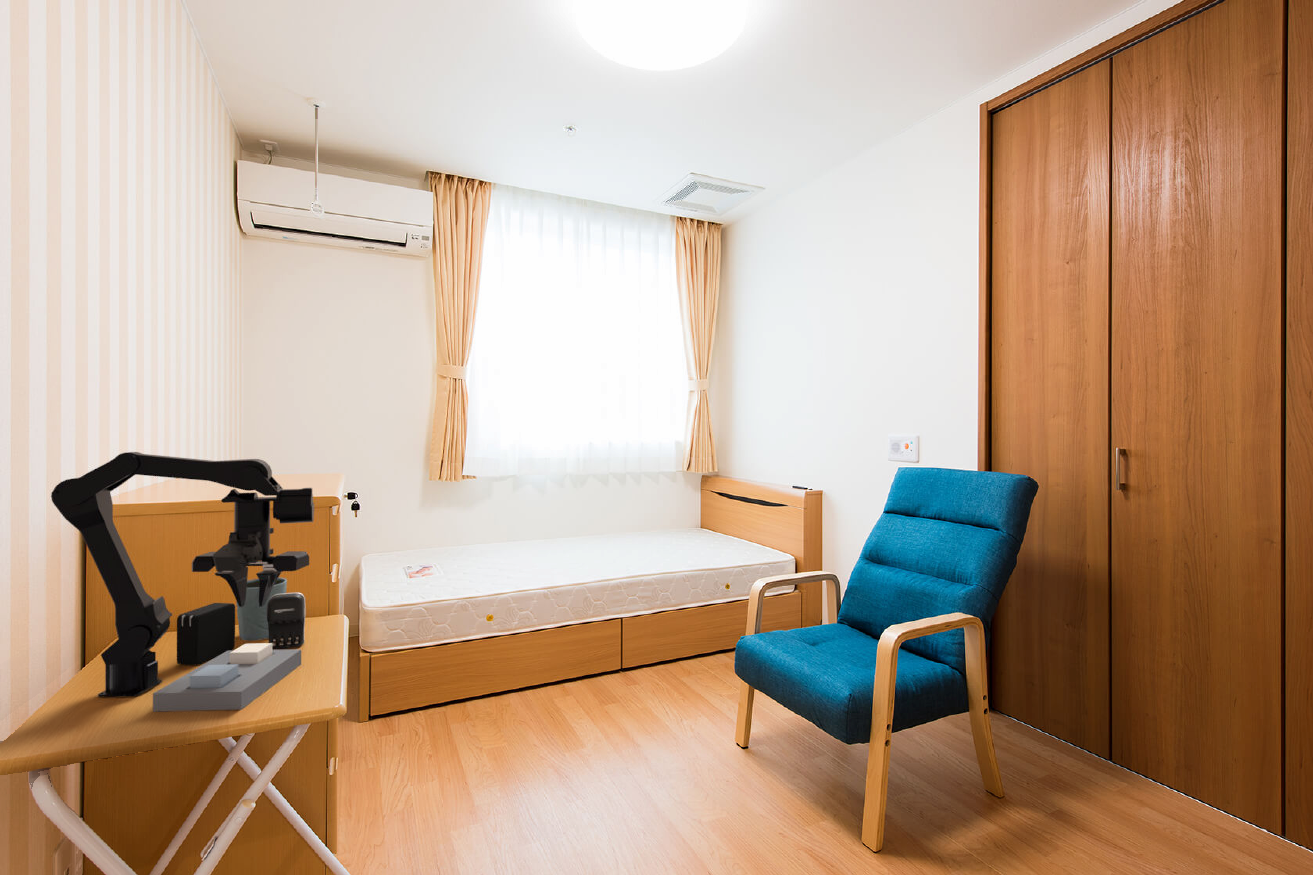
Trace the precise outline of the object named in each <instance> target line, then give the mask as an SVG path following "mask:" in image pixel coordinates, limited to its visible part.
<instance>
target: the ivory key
mask: <svg viewBox="0 0 1313 875" xmlns="http://www.w3.org/2000/svg"><path fill="white" fill-rule="evenodd" d="M233 650H234V651H232V652H230V664H259V663H261V662H262V661H264V660H265V659H267V658H268V657H270V656H271V655H272V650H273V649H272V643H269V642H268V643H267V642H266V643H265V642H264V643H262V642H261V643H258V642H257V643H256V642H255V643H244V644H242V645H241V646H239V647H238V648H236V649H235V648H234V649H233Z"/></svg>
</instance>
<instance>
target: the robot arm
mask: <svg viewBox="0 0 1313 875" xmlns="http://www.w3.org/2000/svg"><path fill="white" fill-rule="evenodd" d="M136 475H137V476H139V475H140V476H149V477H159V478H160V477H161V478H174V479H183V480H184V479H185V480H195V481H196V480H197V481H205V482H206V481H208V482H212V483H215V484H219V485H223V486H226V487H230V488H233V489H231V490H230V491H229V492H228V494H227V495H225V497H223V498H221V500H220V501H221V503H234V507H233V509H234V510H233V511H234V515H233V516H234V517H233V519H234V520H233V522H234V524H233V527H234V528H233V530H234V531H230V532H229V536H228V542H227V544H224V545H223V546H221V547H220V548H219V549H218V550H217V551H209V552H205V553H202V554H199V555H196V556H195V557H194V558H193V560H192V562H191V572H192V573H208V572H210V571H211V570H212V569H213V568H214V567H215V571H216V572H215V573H214V575H215V576H216V577H220V578H222V579H223V580H225V581H226V582H227V584H228V585H229V587H230V589H231V591H232V593H233V596H234V598H235V601H237V603H238V605H239V607H242V606H244V605H245V600H246V591H247V581H248V577H249V576H248V575H249V574H248V573H249V567H262V571H259V572H257V573H256V574H255V575H256V577H257V579H259V606H260V607H262V606H264V605H265V603H266V601H267V599H268V596H269V594H270V592H271V590H272V588H273V586H274V584H275V582H276V580H277V579H278V578H280V575H281V573H283V572H296V571H298V570H300V569H301V570H302V569H303V568H306V567H308V566H310V555H309V554H308V552H307V551H300V550H299V551H295V550H294V551H292V550H291V551H289V550H288V551H285V552H283V553H280V554H277V555H275V556H274V555H273V554H274V548H271V534H274V530H275V528H274V527H271V502H273V503H272V517H273V519H275V520H277V521H279V523H280V524H298V523H314V517H315V502H314V494H313V487H303V488H292V489H291V488H289V489H288V488H283V487H282V485H281V484H279V482H278V481H277V480H276V479H275V478H274V477H273V476H272V475H273V470H272V467H271V465H269V464H268V462H266V461H264V460H262V459H259V458H246V459H245V458H244V459H229V460H227V459H226V460H225V459H224V460H210V459H198V458H189V457H180V456H179V457H178V456H169V455H159V454H158V455H156V454H148V453H147V454H146V453H141V452H137V451H129V452H122V453H120V454H118V455H116V456H115V457H114V458H112V459H111V460H109V461H108V462H106V463H104V464H102V465H100V466H98V467H96V468H94V469H92V470H91V471H89V472H87V473H85V474H83V475H82V476H80V477H74V478H69V479H65V480H63V481H60V482H59V483H58V484H56V485H55V487H54V488H53V490H52V491H51V492H50V493H51V495H50V497H51V502H52V503H53V505H54V506H55V507H56V509H57V510H58V511H59V513H60V515H61V516H62V517H63V518H64V519H65V520H66V521H67V522H68V523H69V524H71V525H72V526H73V527H74V528H75V529H77V531H79V532H80V534H81V537H82V538H83V541H84V543H85V545H86V547H87V549H88V551H89V553H90V555H91V558H92V560H93V562H94V564H95V566H96V568H97V570H98V573H99V574H100V576H101V578H102V580H103V583H104V585H105V587H106V589H107V591H108V594H109V596H110V598H111V599H112V600H111V601H112V602H113V604H114V608H115V609H114V610H115V611H114V615H115V616H114V618H115V620H114V621H115V622H114V625H115V631H116V635H117V640H115V642H113V643H112V644H111V645H110V646H109V647H107V649H105V650H104V651H103V652H102V653H101V655H100V656H101V659H102V660H103V662H104V664H105V667H104V668H105V670H104V671H105V680H104V682H105V684H104V686H105V689H104V690H102V691H101V692H99V693H98V694H97V698H112V697H113V698H121V697H125V698H126V697H138V696H139V695H142V694H143V693H145V692H147V691H148V690H150V689H152V688H154V687H156V686H158V685H159V684H161V683H162V682H163V680H162V678H159V662H158V660H156V651H152V650H151V649H152V648H153V647H155V645H156V644H157V643H158V641H159V640H160V639H161V638H162V637H163V636H164V635H165V634H166V633H167V632H168V630H169V629H170V626H171V621H170V620H171V619H170V618H171V617H172V616H173V613H172V612H171V611H169V609H168V607H167V605H166V600H165V597H164V596H159V597H158V598H156V599H154V598H153V597H151V595H149V593H147V591H146V590H145V589H144V586H143V584H142V581H141V580H140V577H139V575H138V573H137V571H136V569H135V567H134V564H133V562H132V560H131V558H130V556H129V553H128V551H127V549H126V547H125V545H124V543H123V541H122V539H121V536H120V534H119V531H118V530H117V528H116V525H115V522H114V519H113V518H114V517H113V516H114V514H113V513H114V511H113V506H114V505H113V499H112V494H111V492H113V491H114V490H116V489H117V488H119V487H120V486H122V485H123V484H125V483H126V482H128V480H130V479H131V478H133V477H134V476H136ZM237 489H238V490H243V491H248V492H240V491H238V490H237ZM249 491H251V492H249ZM252 491H256V492H252ZM257 492H258V493H259V494H261V495H263V496H259V495H258V493H257Z"/></svg>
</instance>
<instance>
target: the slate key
mask: <svg viewBox="0 0 1313 875" xmlns="http://www.w3.org/2000/svg"><path fill="white" fill-rule="evenodd" d="M238 677H239V664H231V665H208V666H206V667H205V668H203V669H201V670H199V671H198V672H196V673H194V674H193V675H191V676H190V689H204V688H223V687H224V686H226V685H227V684H229V683H230V682H232V681H233V680H235V679H236V678H238Z"/></svg>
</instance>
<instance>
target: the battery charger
mask: <svg viewBox="0 0 1313 875" xmlns="http://www.w3.org/2000/svg"><path fill="white" fill-rule="evenodd" d="M267 622H268V631H269V638H268V643H272V650H287V649H292V648H299V647H301V646H303V645H304V644H305V627H306V626H305V625H306V624H305V623H306V597H305V596H304V594H303V593H301V592H286V593H283V594H276V595H273V596H272V597H271V598H270V600H269V602H268V605H267Z"/></svg>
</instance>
